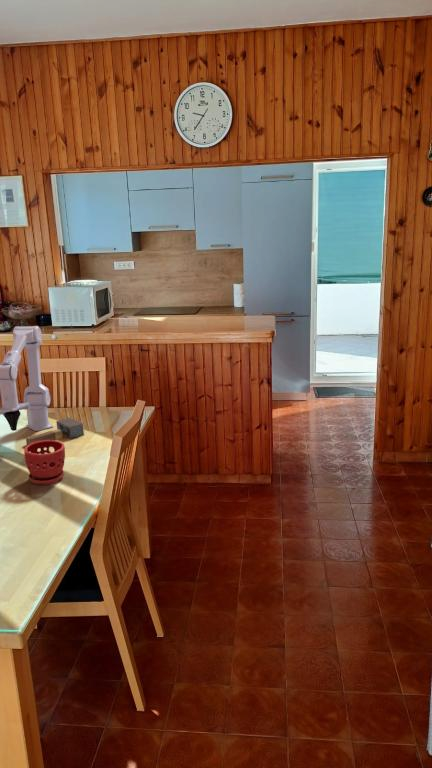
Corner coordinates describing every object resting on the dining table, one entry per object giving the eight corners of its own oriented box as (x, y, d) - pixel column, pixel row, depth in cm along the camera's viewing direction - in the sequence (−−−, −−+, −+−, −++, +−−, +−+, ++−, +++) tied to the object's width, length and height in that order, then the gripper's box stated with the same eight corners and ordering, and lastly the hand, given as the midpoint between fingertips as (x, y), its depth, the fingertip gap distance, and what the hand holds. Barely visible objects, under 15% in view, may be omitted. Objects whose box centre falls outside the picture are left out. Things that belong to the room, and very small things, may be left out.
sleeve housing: (57, 432, 246) (56, 421, 245) (70, 428, 250) (69, 417, 249) (70, 438, 238) (69, 427, 237) (83, 434, 242) (82, 423, 241)
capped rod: (26, 445, 234) (25, 437, 233) (59, 435, 243) (58, 428, 242) (30, 446, 231) (29, 439, 231) (62, 437, 240) (61, 430, 240)
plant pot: (27, 490, 193) (23, 456, 190) (28, 474, 206) (24, 442, 202) (68, 484, 197) (64, 450, 194) (67, 469, 209) (63, 437, 206)
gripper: (-6, 402, 216) (-1, 437, 220) (32, 393, 225) (36, 427, 229) (-13, 398, 221) (-9, 432, 225) (23, 390, 230) (28, 423, 234)
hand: (13, 429), depth 227 cm, fingers closed
